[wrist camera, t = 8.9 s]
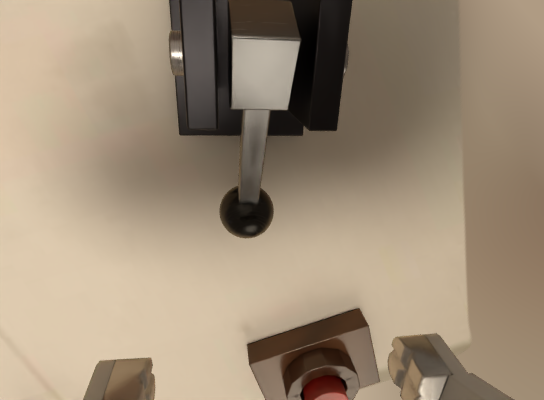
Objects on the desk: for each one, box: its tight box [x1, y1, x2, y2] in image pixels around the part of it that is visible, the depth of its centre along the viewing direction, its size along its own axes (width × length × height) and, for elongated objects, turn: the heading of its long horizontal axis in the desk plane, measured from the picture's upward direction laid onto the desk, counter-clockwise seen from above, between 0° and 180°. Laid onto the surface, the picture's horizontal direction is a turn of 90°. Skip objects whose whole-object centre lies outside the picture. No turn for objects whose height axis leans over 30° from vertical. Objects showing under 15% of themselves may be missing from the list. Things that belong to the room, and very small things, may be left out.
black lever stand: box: [169, 0, 352, 136], centre depth 15 cm, size 10×8×12 cm
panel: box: [247, 309, 380, 400], centre depth 31 cm, size 11×8×4 cm
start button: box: [303, 375, 349, 400], centre depth 29 cm, size 4×4×2 cm
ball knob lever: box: [220, 0, 302, 238], centre depth 16 cm, size 13×3×3 cm
